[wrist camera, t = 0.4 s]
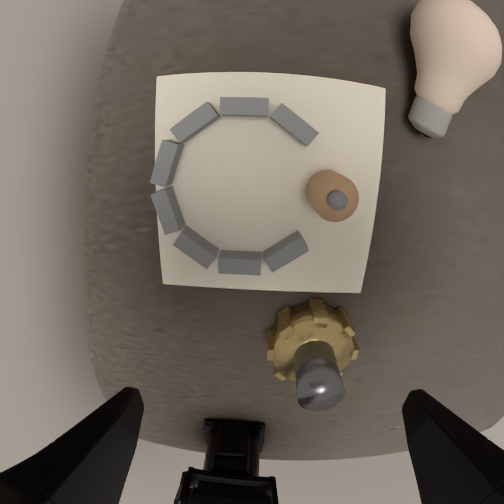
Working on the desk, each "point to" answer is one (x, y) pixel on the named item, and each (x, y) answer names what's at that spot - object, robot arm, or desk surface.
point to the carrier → (266, 180)
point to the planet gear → (313, 351)
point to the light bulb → (449, 59)
